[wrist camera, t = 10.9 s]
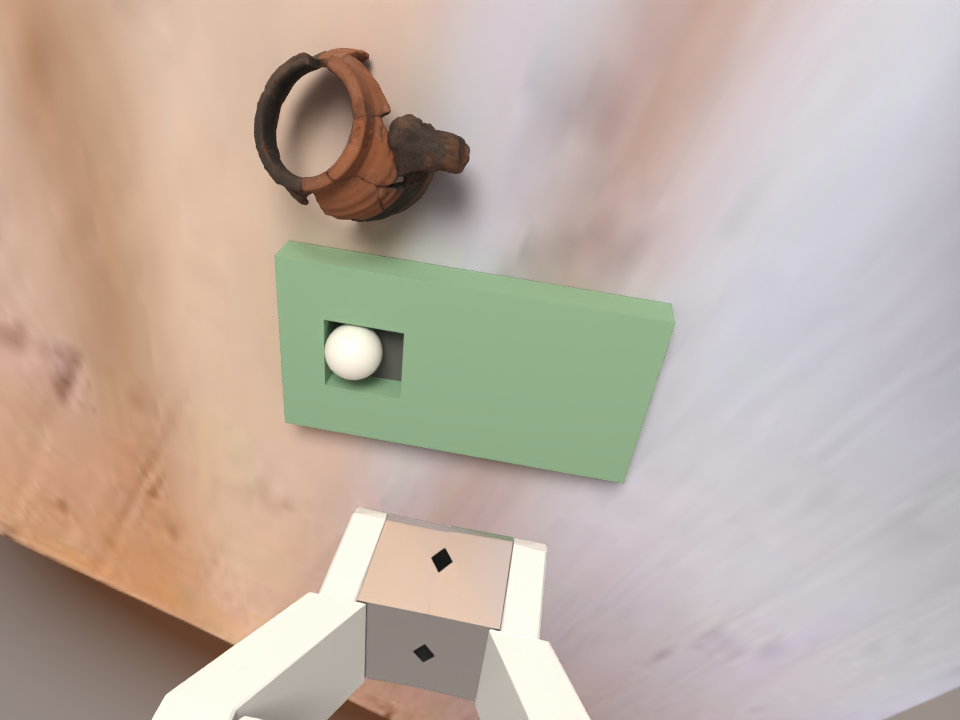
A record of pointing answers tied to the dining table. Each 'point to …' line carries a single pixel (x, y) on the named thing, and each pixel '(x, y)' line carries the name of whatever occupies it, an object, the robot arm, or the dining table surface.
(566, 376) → the green board
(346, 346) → the ball
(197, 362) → the dining table surface
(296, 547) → the dining table surface
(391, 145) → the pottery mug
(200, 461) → the dining table surface
